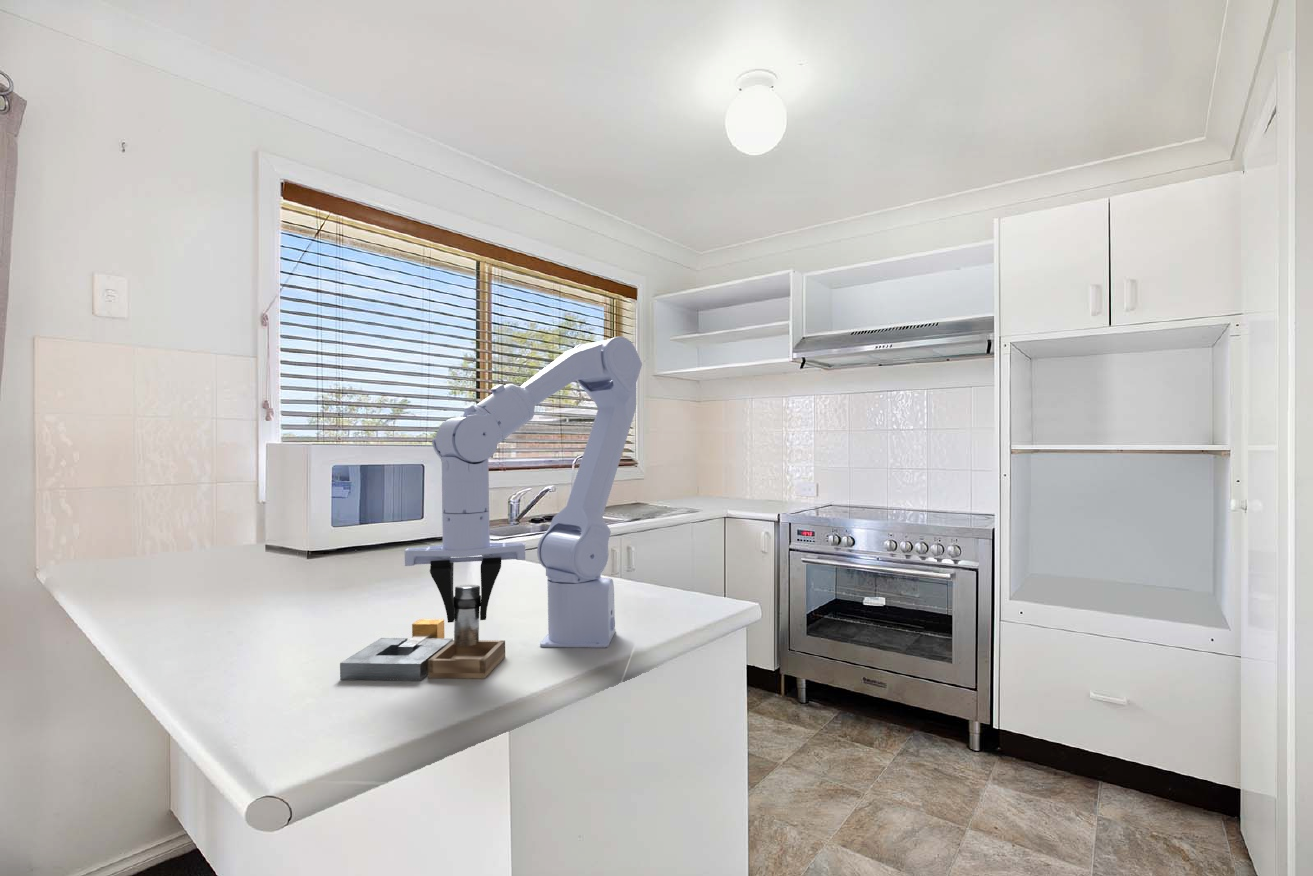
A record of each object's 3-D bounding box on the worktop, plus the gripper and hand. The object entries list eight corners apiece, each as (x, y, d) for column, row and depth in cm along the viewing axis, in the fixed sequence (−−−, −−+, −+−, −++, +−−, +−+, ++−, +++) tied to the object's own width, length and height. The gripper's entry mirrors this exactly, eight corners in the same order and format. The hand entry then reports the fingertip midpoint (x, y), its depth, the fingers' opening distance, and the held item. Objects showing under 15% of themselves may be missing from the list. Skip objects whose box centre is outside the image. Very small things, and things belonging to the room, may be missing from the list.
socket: (381, 652, 89) (381, 637, 89) (453, 653, 89) (452, 638, 89) (340, 679, 79) (339, 663, 79) (420, 680, 79) (420, 663, 79)
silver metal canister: (480, 638, 85) (481, 584, 85) (479, 646, 82) (480, 589, 82) (453, 639, 84) (455, 584, 85) (451, 647, 81) (452, 590, 81)
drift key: (420, 641, 94) (419, 619, 94) (444, 642, 94) (444, 619, 94) (392, 661, 86) (392, 636, 86) (419, 661, 86) (418, 636, 86)
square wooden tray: (505, 656, 87) (505, 640, 87) (484, 678, 79) (484, 661, 79) (453, 656, 88) (453, 640, 88) (428, 677, 80) (427, 660, 80)
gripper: (523, 506, 89) (525, 607, 89) (409, 510, 86) (411, 615, 86) (525, 511, 82) (526, 621, 82) (401, 516, 79) (402, 630, 79)
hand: (467, 619), depth 83 cm, fingers closed on silver metal canister, 3 cm apart
